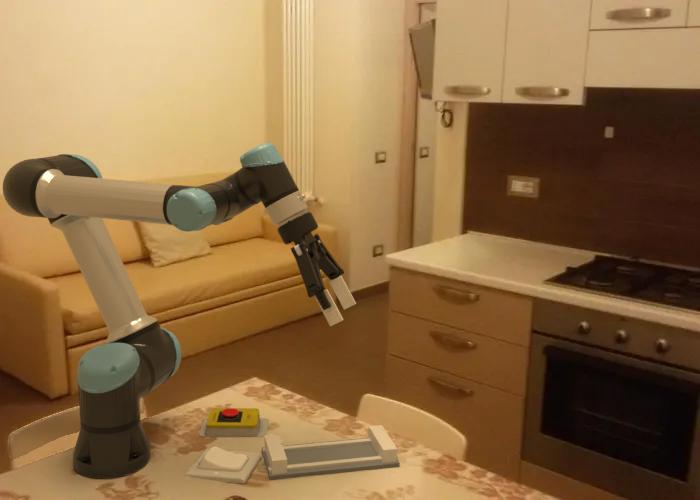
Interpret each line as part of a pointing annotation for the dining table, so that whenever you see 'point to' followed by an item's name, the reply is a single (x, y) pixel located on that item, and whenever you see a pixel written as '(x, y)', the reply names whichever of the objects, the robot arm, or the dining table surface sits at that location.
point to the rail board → (329, 455)
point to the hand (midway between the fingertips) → (343, 314)
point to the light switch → (224, 465)
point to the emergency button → (234, 423)
